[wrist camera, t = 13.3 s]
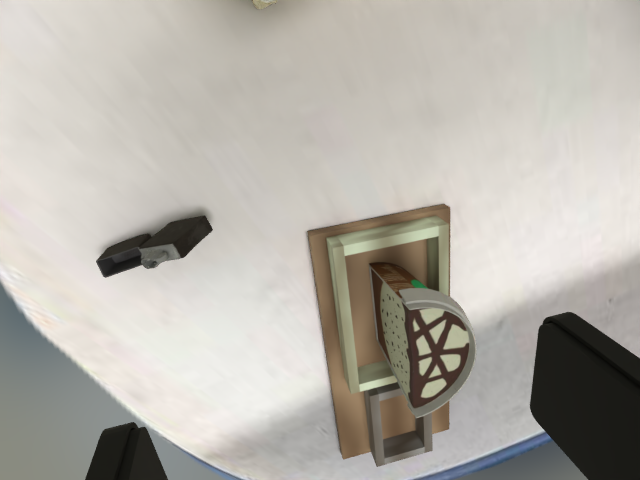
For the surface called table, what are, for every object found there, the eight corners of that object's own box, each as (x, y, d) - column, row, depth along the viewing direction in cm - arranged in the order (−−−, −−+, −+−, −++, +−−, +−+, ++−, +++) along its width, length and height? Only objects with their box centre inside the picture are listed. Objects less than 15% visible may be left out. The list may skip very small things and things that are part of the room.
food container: (430, 337, 45) (481, 404, 36) (377, 350, 44) (416, 422, 35) (426, 236, 40) (485, 284, 31) (367, 250, 39) (409, 303, 30)
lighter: (145, 249, 38) (100, 285, 34) (133, 228, 37) (85, 264, 33) (216, 237, 34) (176, 277, 30) (205, 214, 33) (161, 252, 29)
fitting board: (444, 203, 40) (463, 215, 37) (444, 421, 52) (459, 445, 49) (307, 231, 38) (315, 246, 35) (340, 451, 50) (348, 478, 47)
